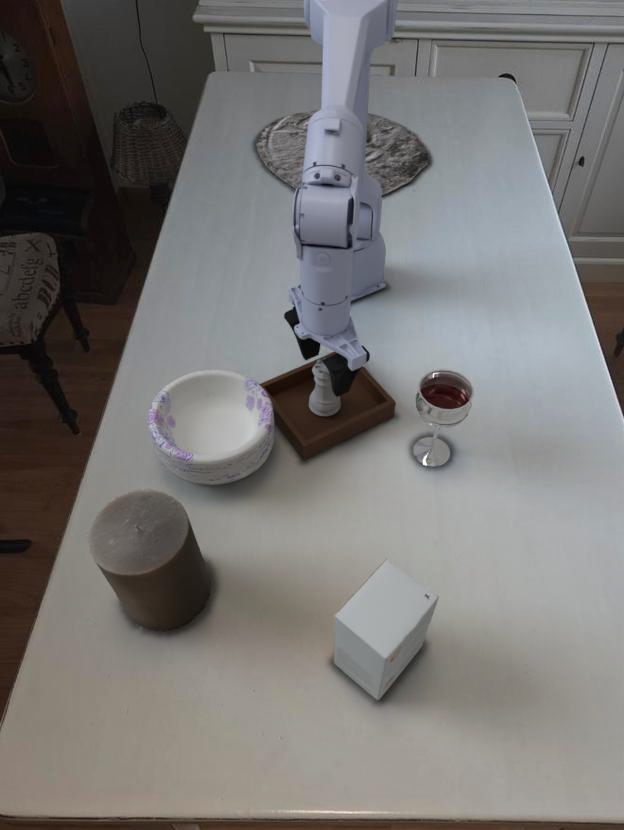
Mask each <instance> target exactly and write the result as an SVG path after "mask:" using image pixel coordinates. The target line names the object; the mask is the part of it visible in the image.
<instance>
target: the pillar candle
mask: <svg viewBox="0 0 624 830" xmlns="http://www.w3.org/2000/svg"><path fill="white" fill-rule="evenodd" d="M85 537H86V539H85V540H86V543H88V545H87V546H88V549H89V553H90V555H91V557H92V559H93V561H94V563H95V564H96V566H97V567H98V569H99V570H100V571H101V573H102V574H103V576H104V577H105V579H106V581H107V583H108V584H109V585H110V587H111V589H112V590H113V592H114V593H115V595H116V597H117V599H118V601H119V602H120V603H121V605H122V606H123V608H124V609H125V611H126V613H127V614H128V615H129V616H130V618H131V620H133V621H134V623H136V624H137V625H139V626H141V627H143V628H145V629H148V630H151V631H156V632H167V631H173V630H176V629H177V630H178V629H180V628H182V627H185V626H186V625H188V624H190V623H191V622H193V621H194V620H195V619H196V618H197V617H198V616H200V615H201V613H202V612H203V610H205V608H206V606H207V603H208V599H209V598H210V596H211V589H212V585H211V584H212V582H211V578H210V574H209V571H208V569H207V565H206V563H205V560H204V557H203V554H202V552H201V548H200V546H199V543H198V540H197V538H196V535H195V531H194V529H193V526H192V524H191V521H190V518H189V515H188V513H187V510H186V509H185V507H184V506H183V505H182V503H181V502H180V501H178V500H177V498H175V497H174V496H171V495H170V494H168V493H166V492H163V491H159V490H154V489H151V488H144V489H135V490H132V491H128V493H125V494H122V495H120V496H116V497H115V498H114V499H113V500H112V501H108V502H107V503H106V505H105V506H104V507H102V509H101V510H100V511H98V512H97V513H96V516H95V517H94V519H93V520H92V522H91V524H90V526H89V530H88V532H86V536H85Z"/></svg>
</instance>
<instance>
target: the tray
mask: <svg viewBox="0 0 624 830" xmlns="http://www.w3.org/2000/svg"><path fill="white" fill-rule="evenodd" d="M335 354H337V352H335V351H332V352H330V353H328V354H325V355H323V356H321V357H319V358H316V359H314V360H312V361H310V362H307V363H304V364H303V365H300V366H298V367H296V368H293V369H291V370H288V371H286V372H284V373H281V374H279V375H277V376H274V377H272V378H270V379H268V380H266V381H264V382H261V383H258V384H259V385H260V386H261V387H262V388H263V389H264V390H265V391H266V393H267V394H268V396H269V398H270V400H271V402H272V406H273V413H274V424H276V426H277V427H278V429H280V431H281V432H282V433H283V435H284V436H285V438H286V439H287V440H288V441H289V443H290V444H291V446H292V447H293V448H294V450H295V451H296V453H298V455H299V456H300V457H301V459H302V460H303V461H307V460H308V459H310V458H312V457H315V456H316V455H319V454H321V453H323V452H325V451H326V450H329V449H332V448H333V447H335V446H337V445H339V444H341V443H343V442H345V441H348V440H349V439H351V438H354V437H356V436H357V435H359V434H361V433H364V432H365V431H367V430H370V429H372V428H373V427H376V426H378V425H380V424H382V423H384V422H386V421H388V420H390V419H392V418H394V417H395V412H396V411H395V410H396V405H397V402H396V400H395V399H394V398H393V397H392V396H391V394H389V393H388V392H387V391H386V390H385V388H384V387H383V386H382V385H381V384H380V383H379V382H378V381H377V380H376V379H375V378H374V376H372V374H371V373H370V372H369V371H368V370H367V369H366V368H365V367H364V366H363V367H362V368H361V369H360V371H359V372H358V373H357V375H356V377H355V379H354V381H353V383H352V385H351V388H350V390H349V392H347V393H345V394H343V395H341V396H340V402H341V407H340V409H339V410H338V412H336V413H335V414H333V415H331V416H328V417H322V416H319V415H316V414H315V413H314V412H312V411H311V409H310V407H309V397H310V395H311V393H312V392H313V390H314V389H315V385H316V382H315V380H314V376H315V375H314V374H313V372H312V369H313V367H314V365H315V363H317V360H319V359H320V360H321V361H323V358H328V357H330V356H332V355H335Z"/></svg>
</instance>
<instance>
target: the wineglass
mask: <svg viewBox="0 0 624 830" xmlns="http://www.w3.org/2000/svg"><path fill="white" fill-rule="evenodd" d="M417 385H418V386H417V387H418V388H417V392H416V395H415V408H416V410H417V413H418V415H419V417H420V418H421V419H422V421H423V422H425V423H427V424H428V425H430V426H433V427H434V429H433V434H432V437H431V436H428V437H422V438H421V439H418V440H417V441H416V442H415V444H414V445H413V448H412V449H413V450H412V451H413V455H414V458H415V459H416V460H417V461H418V462H419V463H420V464H422V465H424V466H426V467H441V466H442V465H444V464H446V463H447V462H448V461H449V460H450V457H451V450H450V447H449V445H447V443H446V442H445V441H443V439H440V438H438V436H439V433H440V430H441V429H447V428H454V427H455V426H457V425H460V424H461V423H462V422H464V420H465V419H466V418H467V417H468V416H469V414H470V411H471V408H472V401H473V398H474V396H475V390H474V386H473V384H472V382H471V381H470V380H469V379H468V378H467V377H466V376H465V375H463V374H461V373H460V372H458V371H454V370H451V369H435V370H431V371H429V372H427V373H425V374H424V375H423V376H422V377H421V378H420V379H419V382H418V384H417Z"/></svg>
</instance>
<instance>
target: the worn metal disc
mask: <svg viewBox="0 0 624 830" xmlns="http://www.w3.org/2000/svg"><path fill="white" fill-rule="evenodd" d="M319 110H320V109H316V110H312V111H308V112H298V113H294V114H290V115H287V116H283V117H280V118H279V119H276V120H274V121H273V122H271V123H269V124H267V126H265V127H264V128H263V129H262V130H261V131H260V132H259V133H258V135H257V137H256V139H255V142H254V143H255V146H256V150H257V152H258V153H257V154H258V155H259V157H260V159H261V160H262V162H263V163H264V165H265V166H266V168H267V169H268V170H269V171H270V172H271V173H272V174H273V175H275V176H276V177H277V178H278V179H280V180H281V181H282V182H284V183H286V184H287V185H289V186H290V187H291V188H293V189H295V190H296V188H299V190H300V189H301V184H302V175H303V166H304V157H305V148H306V139H307V130H308V122H309V120H310V118H311V117H312V116H313V115H314V114H315V113H316V112H318V111H319ZM429 163H430V157H429V153H427V150H426V148H425V146H424V145H423V143H422V142H421V141H420V140H419V139H418V137H417V136H416V135H415V134H414V133H413V132H412V131H411V130H409V129H407V128H405V127H404V126H403V125H401V124H399V123H397V122H396V121H393V120H390V119H387V118H385V117H383V116H380V115H377V114H374V113H373V114H372V113H369V112H368V118H367V135H366V153H365V172H366V173H368V174H369V175H370V176H372V177H373V178H374V179H376V180H377V181H378V182H379V183H380V184H381V188H382V196H384V195H387V194H389V193H392V192H393V191H395V190H397V189H398V188H400V187H402V186H404V185H405V186H406V185H408V184H410V183H411V182H412V180H413V179H414V178H415V177H416V176H417V174H419V172H421V171H422V170H423V169H424V168H425V167H426V166H428V164H429Z"/></svg>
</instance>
